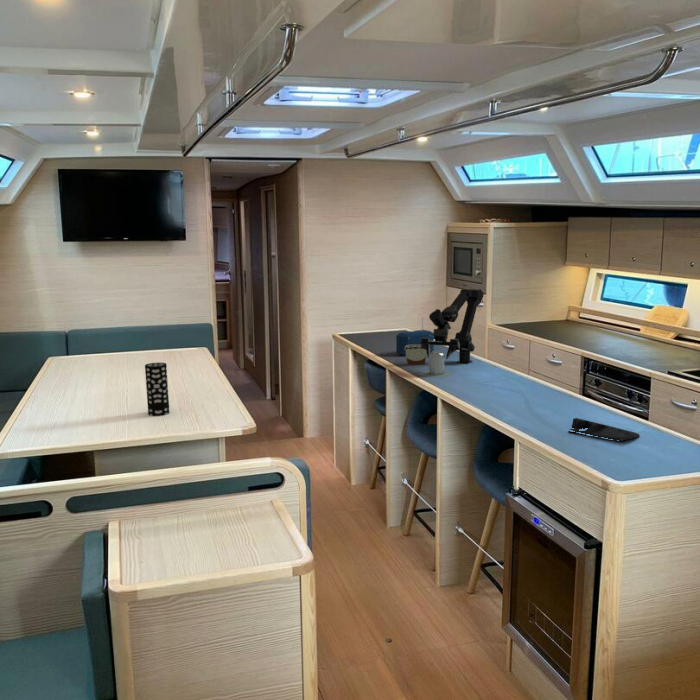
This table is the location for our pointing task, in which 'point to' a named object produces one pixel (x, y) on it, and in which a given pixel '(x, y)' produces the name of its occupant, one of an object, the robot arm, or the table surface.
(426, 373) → the grey mat
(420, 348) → the food container
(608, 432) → the black knife blade
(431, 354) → the steel cup
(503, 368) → the table surface
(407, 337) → the radio
